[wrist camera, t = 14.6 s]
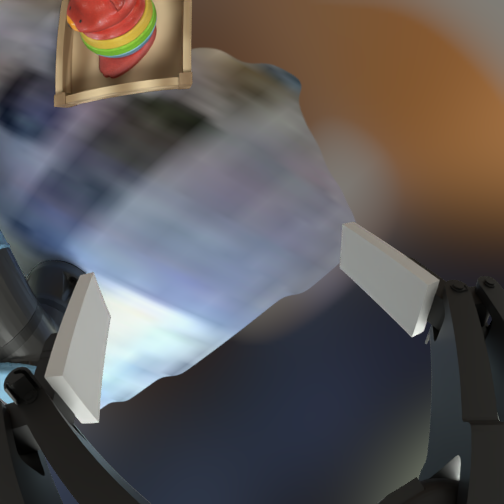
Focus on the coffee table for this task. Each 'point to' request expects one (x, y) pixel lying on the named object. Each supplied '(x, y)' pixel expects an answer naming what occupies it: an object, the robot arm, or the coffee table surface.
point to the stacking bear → (114, 31)
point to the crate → (136, 79)
